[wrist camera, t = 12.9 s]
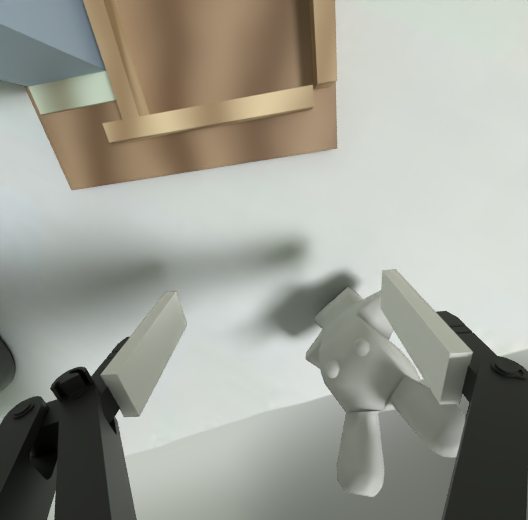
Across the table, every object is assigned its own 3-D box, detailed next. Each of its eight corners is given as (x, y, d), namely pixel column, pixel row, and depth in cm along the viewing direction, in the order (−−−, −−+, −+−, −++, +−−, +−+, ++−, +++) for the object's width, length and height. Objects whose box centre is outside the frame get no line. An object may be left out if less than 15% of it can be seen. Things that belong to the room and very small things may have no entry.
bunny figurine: (323, 340, 28) (367, 522, 15) (289, 316, 27) (303, 489, 13) (391, 285, 25) (530, 453, 11) (356, 254, 24) (464, 401, 10)
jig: (81, 188, 22) (54, 193, 19) (-64, -147, 14) (-143, -215, 12) (333, 148, 20) (342, 148, 17) (320, -271, 12) (333, -389, 10)
